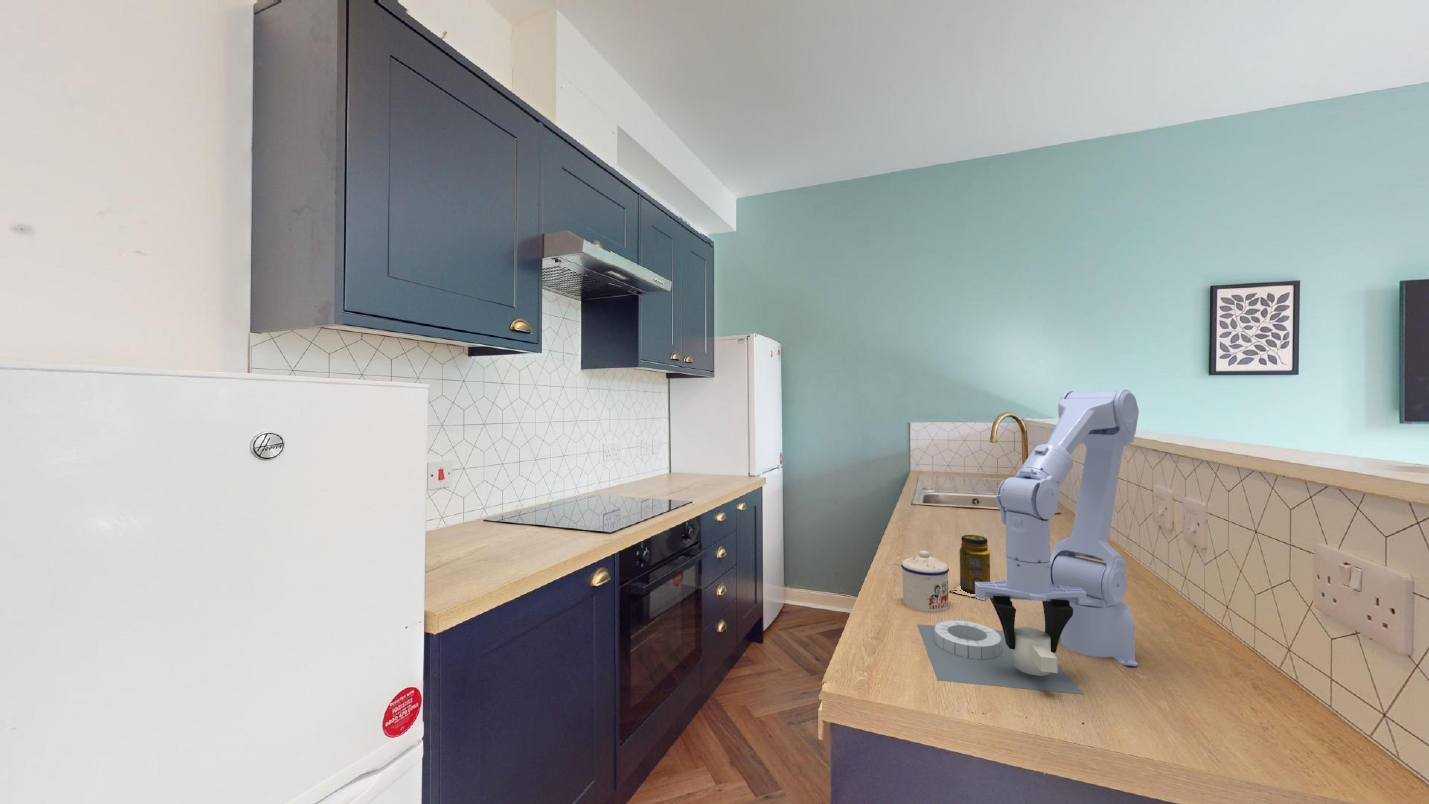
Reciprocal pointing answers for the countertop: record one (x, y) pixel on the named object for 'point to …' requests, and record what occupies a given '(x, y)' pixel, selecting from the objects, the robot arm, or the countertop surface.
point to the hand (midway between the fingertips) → (1030, 647)
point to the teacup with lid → (925, 583)
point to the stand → (983, 658)
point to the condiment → (973, 562)
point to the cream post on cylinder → (1033, 652)
